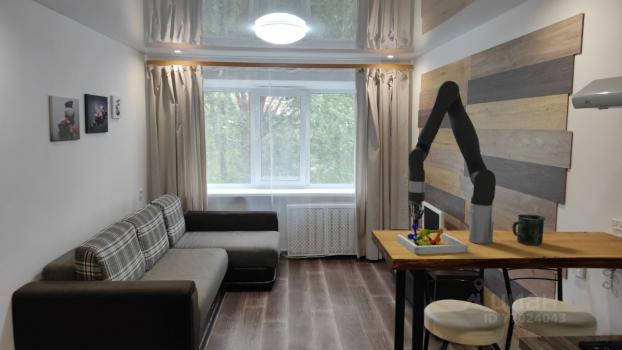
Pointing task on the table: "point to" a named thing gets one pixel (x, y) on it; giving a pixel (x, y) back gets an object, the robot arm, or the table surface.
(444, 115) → the robot arm
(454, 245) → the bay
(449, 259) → the table surface
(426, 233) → the decorative model
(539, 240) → the mug
